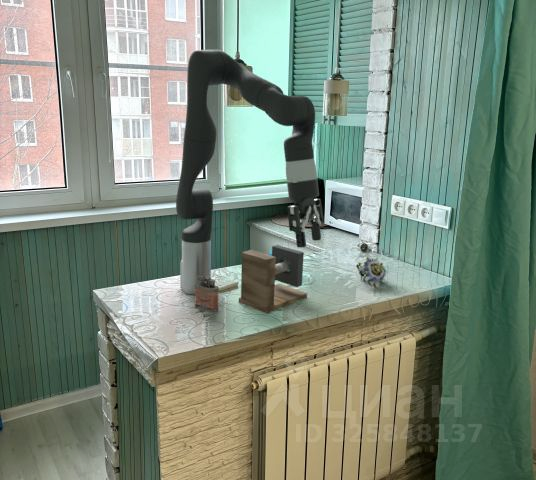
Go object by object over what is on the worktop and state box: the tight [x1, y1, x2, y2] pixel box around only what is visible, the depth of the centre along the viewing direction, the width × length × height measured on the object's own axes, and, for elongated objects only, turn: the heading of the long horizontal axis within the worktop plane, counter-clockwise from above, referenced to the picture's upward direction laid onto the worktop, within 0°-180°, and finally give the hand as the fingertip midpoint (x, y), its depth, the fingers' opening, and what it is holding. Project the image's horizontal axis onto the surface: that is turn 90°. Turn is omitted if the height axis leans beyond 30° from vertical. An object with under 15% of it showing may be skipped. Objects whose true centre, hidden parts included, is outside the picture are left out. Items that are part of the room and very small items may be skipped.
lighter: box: [194, 276, 220, 314], centre depth 155 cm, size 8×3×10 cm, turn 59°
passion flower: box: [356, 255, 389, 289], centre depth 182 cm, size 11×11×12 cm
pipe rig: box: [238, 249, 308, 315], centre depth 164 cm, size 20×12×16 cm, turn 138°
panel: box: [271, 244, 305, 288], centre depth 167 cm, size 2×11×11 cm, turn 48°
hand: (309, 243), depth 131 cm, fingers open, 8 cm apart
